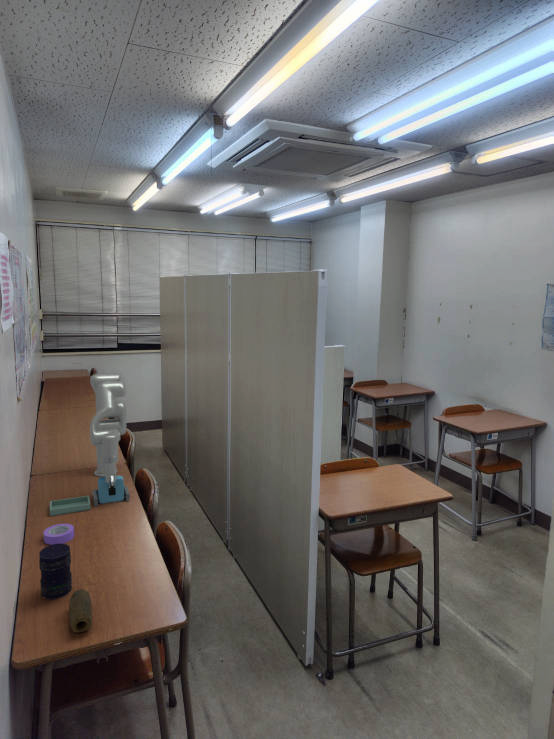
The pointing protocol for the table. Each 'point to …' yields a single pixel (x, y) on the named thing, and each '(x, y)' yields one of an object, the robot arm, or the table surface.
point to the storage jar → (55, 571)
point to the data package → (104, 490)
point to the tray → (69, 505)
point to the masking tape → (59, 534)
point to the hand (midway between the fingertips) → (111, 491)
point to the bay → (95, 497)
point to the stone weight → (80, 611)
